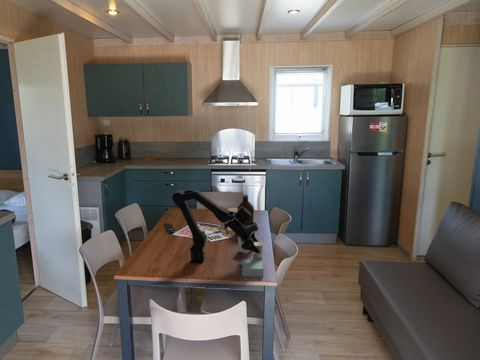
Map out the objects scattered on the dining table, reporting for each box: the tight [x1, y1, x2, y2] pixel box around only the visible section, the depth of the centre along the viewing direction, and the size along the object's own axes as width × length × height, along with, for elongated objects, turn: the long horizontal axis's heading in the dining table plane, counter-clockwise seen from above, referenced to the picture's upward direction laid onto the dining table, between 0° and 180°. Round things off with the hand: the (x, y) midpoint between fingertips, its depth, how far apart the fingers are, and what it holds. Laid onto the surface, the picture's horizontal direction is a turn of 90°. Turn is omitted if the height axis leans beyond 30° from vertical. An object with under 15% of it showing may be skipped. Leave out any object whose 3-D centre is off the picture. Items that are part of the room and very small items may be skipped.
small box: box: [237, 232, 253, 254], centre depth 193 cm, size 8×6×10 cm
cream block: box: [252, 241, 264, 261], centre depth 177 cm, size 5×5×10 cm
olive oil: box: [236, 194, 255, 226], centre depth 221 cm, size 11×11×25 cm
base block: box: [241, 259, 264, 278], centre depth 167 cm, size 10×10×4 cm
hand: (259, 249), depth 177 cm, fingers open, 9 cm apart
